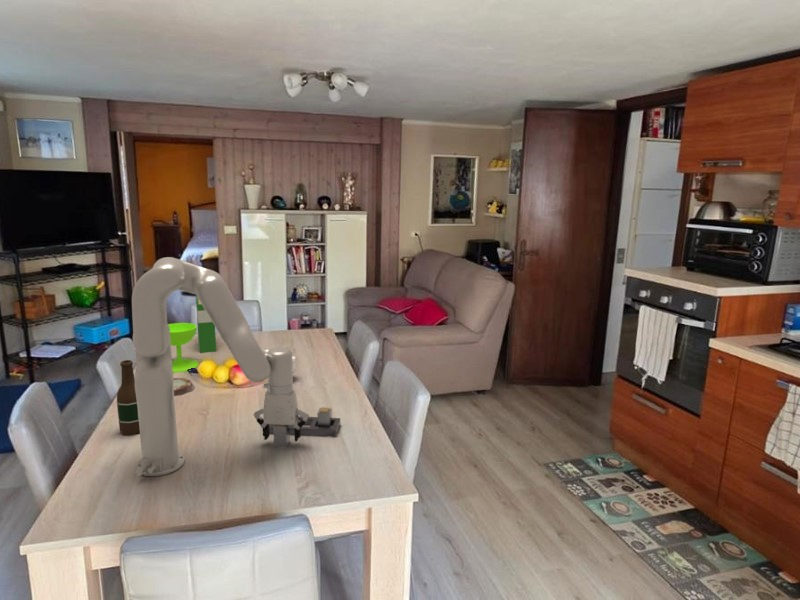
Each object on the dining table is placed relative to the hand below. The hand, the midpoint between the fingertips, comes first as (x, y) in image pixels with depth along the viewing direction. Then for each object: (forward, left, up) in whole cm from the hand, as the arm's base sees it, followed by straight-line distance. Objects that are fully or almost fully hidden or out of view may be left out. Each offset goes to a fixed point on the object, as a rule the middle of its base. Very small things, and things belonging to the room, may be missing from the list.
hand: (281, 438), depth 164 cm
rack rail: (+11, -4, -2) cm, 12 cm away
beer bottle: (+4, +51, -2) cm, 51 cm away
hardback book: (+95, +65, -2) cm, 115 cm away
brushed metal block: (0, 0, -2) cm, 2 cm away
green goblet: (+66, +65, -2) cm, 93 cm away
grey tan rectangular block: (+11, -11, -2) cm, 16 cm away
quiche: (+40, +55, -3) cm, 68 cm away
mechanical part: (+54, +15, -2) cm, 56 cm away
